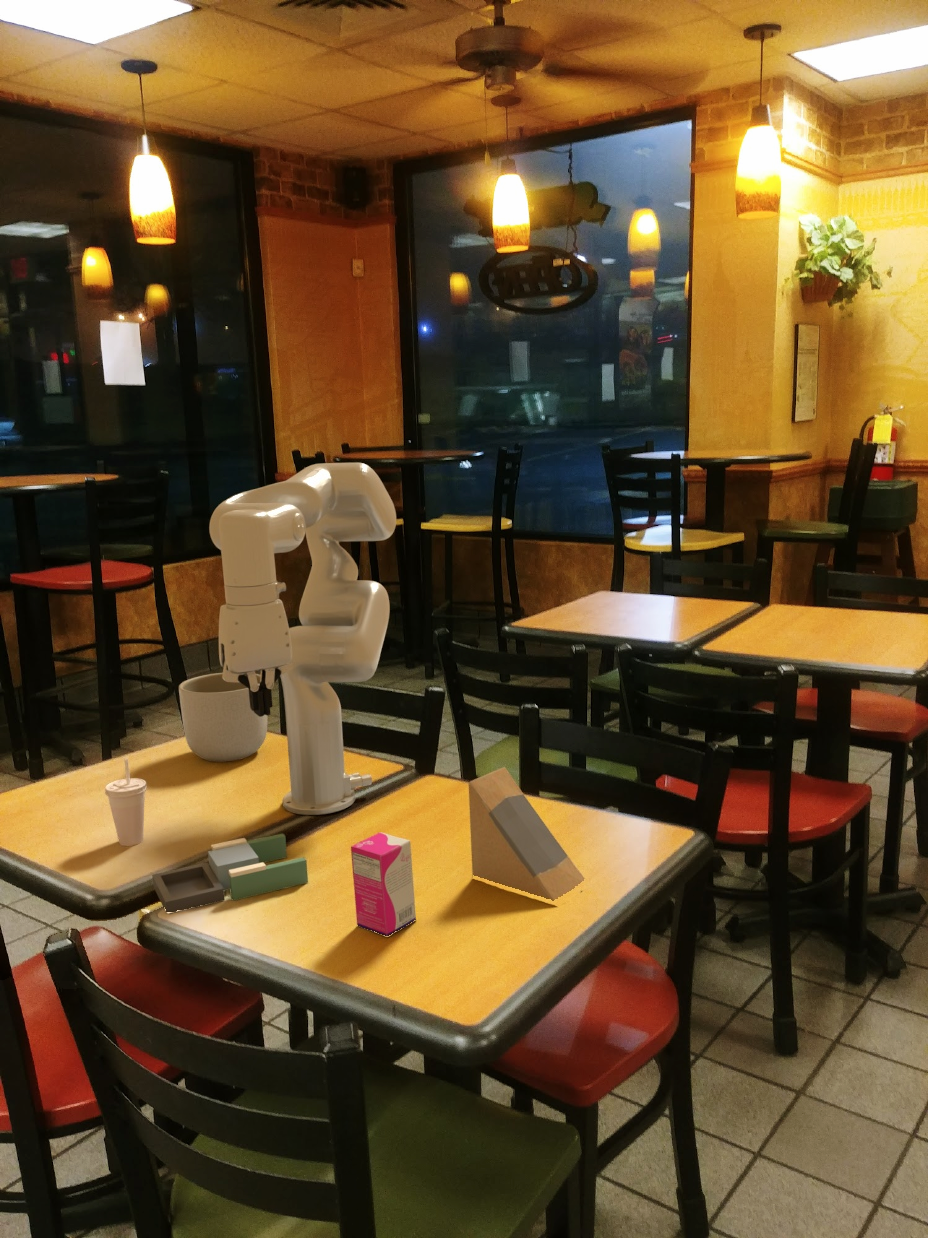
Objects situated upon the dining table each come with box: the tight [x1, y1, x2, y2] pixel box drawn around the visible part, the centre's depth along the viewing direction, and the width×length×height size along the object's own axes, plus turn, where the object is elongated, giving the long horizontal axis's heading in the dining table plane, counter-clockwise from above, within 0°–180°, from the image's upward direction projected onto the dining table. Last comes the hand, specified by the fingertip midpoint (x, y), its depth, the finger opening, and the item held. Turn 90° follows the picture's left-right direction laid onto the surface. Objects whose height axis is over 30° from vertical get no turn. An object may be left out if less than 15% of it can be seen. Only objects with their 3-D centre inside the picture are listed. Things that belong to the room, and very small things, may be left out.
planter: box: [178, 672, 268, 763], centre depth 207 cm, size 17×17×15 cm
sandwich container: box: [468, 766, 586, 901], centre depth 145 cm, size 9×15×15 cm, turn 50°
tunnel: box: [210, 833, 309, 901], centre depth 151 cm, size 11×12×4 cm
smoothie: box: [104, 758, 147, 847], centre depth 164 cm, size 6×6×14 cm
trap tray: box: [151, 862, 226, 913], centre depth 146 cm, size 8×10×2 cm
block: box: [207, 843, 259, 891], centre depth 150 cm, size 6×6×4 cm
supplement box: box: [350, 832, 417, 936], centre depth 134 cm, size 6×6×12 cm
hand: (262, 713), depth 154 cm, fingers closed
